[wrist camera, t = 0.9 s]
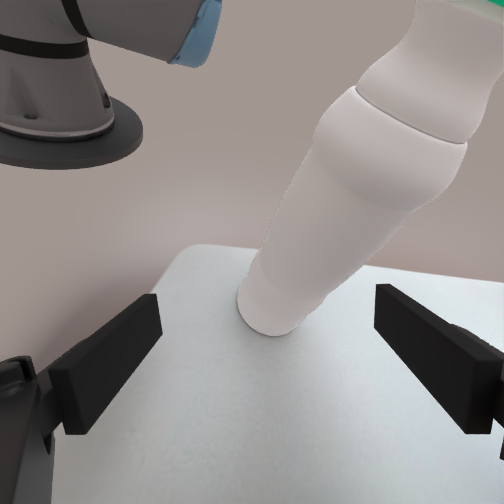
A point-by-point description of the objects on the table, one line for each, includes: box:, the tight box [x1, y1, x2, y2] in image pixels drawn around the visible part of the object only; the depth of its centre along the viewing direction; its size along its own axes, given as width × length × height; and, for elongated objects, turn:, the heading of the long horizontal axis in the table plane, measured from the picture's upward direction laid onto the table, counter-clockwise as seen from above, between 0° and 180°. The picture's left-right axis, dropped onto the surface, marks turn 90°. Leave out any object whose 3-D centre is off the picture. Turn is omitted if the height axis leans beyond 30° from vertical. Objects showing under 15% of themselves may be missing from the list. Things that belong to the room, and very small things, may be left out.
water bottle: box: [237, 0, 504, 336], centre depth 16 cm, size 7×7×25 cm
